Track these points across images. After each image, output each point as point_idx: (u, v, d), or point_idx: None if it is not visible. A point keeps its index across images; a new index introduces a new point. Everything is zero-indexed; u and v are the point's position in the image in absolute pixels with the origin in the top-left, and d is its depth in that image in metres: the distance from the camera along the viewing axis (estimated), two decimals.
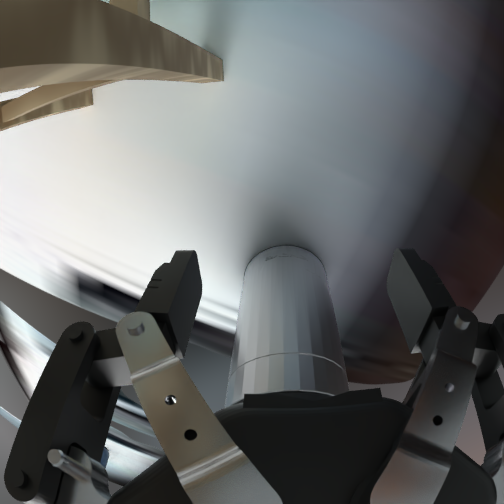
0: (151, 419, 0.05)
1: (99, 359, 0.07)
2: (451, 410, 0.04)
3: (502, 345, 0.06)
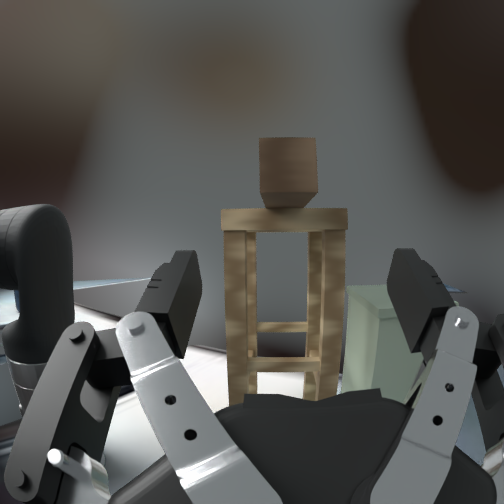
0: (151, 419, 0.05)
1: (99, 359, 0.07)
2: (451, 410, 0.04)
3: (502, 345, 0.06)
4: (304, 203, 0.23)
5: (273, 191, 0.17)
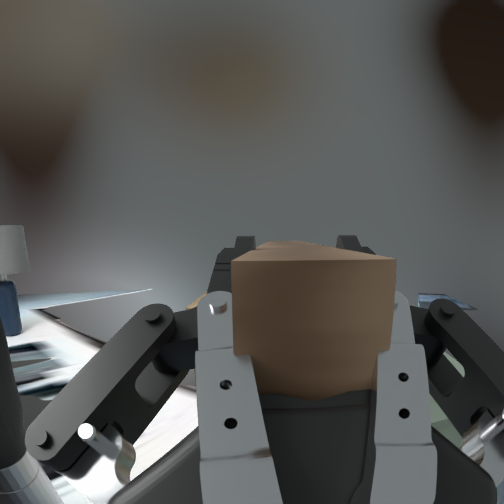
0: (200, 397, 0.05)
1: (179, 340, 0.08)
2: (414, 398, 0.05)
3: (445, 334, 0.07)
4: None
5: None
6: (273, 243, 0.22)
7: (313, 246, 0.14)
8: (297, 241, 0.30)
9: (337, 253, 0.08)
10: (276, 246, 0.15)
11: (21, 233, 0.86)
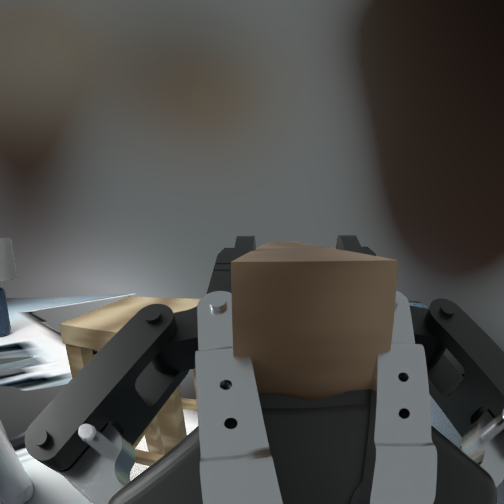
0: (200, 397, 0.05)
1: (179, 340, 0.08)
2: (414, 398, 0.05)
3: (446, 334, 0.07)
4: None
5: None
6: None
7: (313, 247, 0.14)
8: None
9: (337, 254, 0.08)
10: None
11: (9, 245, 0.92)
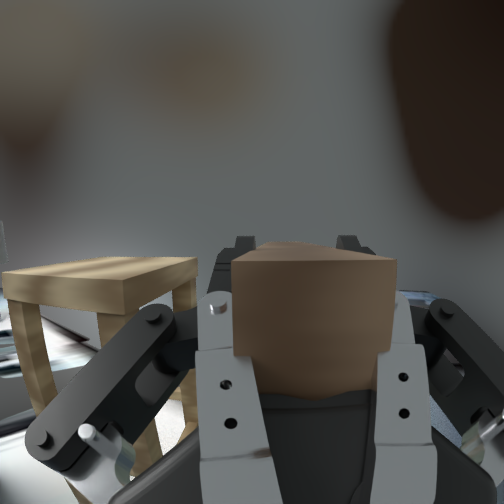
0: (200, 397, 0.05)
1: (179, 340, 0.08)
2: (414, 398, 0.05)
3: (445, 334, 0.07)
4: None
5: None
6: None
7: None
8: None
9: (337, 253, 0.08)
10: None
11: None
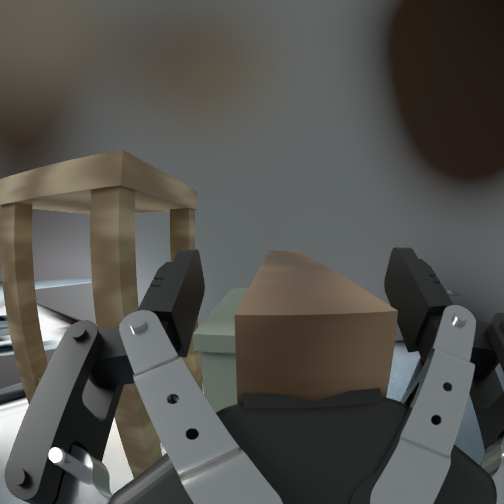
0: (153, 418, 0.05)
1: (102, 358, 0.07)
2: (450, 409, 0.04)
3: (500, 344, 0.06)
4: None
5: None
6: (274, 258, 0.22)
7: (315, 269, 0.14)
8: (298, 252, 0.30)
9: (339, 292, 0.08)
10: (278, 268, 0.15)
11: None
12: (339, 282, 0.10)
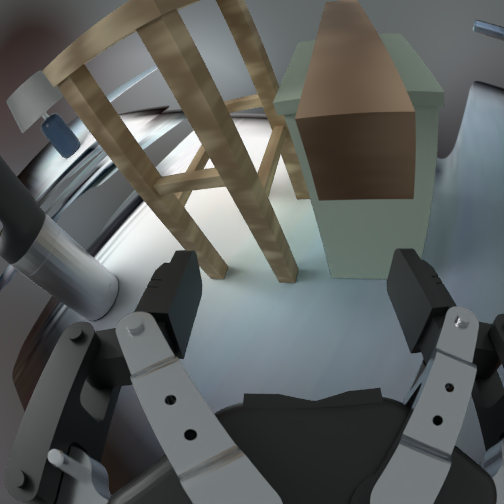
0: (151, 419, 0.05)
1: (99, 359, 0.07)
2: (451, 410, 0.04)
3: (502, 345, 0.06)
4: None
5: (340, 198, 0.10)
6: (330, 18, 0.16)
7: (365, 38, 0.11)
8: (354, 2, 0.19)
9: (378, 80, 0.08)
10: (332, 38, 0.12)
11: (41, 76, 0.78)
12: (382, 62, 0.09)
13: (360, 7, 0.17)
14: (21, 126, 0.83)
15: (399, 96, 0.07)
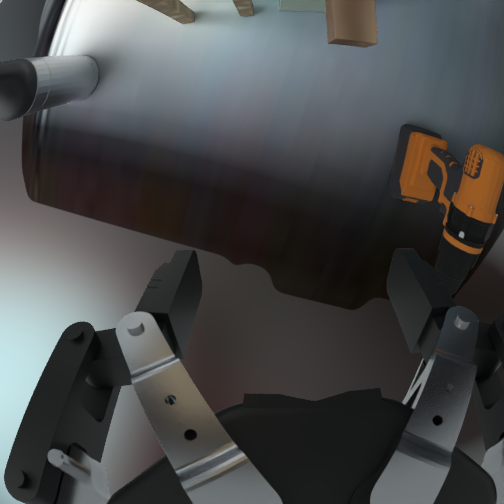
0: (152, 419, 0.05)
1: (99, 359, 0.07)
2: (451, 410, 0.04)
3: (502, 345, 0.06)
4: None
5: (336, 43, 0.20)
6: None
7: None
8: None
9: (366, 17, 0.16)
10: None
11: None
12: None
13: None
14: None
15: (373, 32, 0.17)
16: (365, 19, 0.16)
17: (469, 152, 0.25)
